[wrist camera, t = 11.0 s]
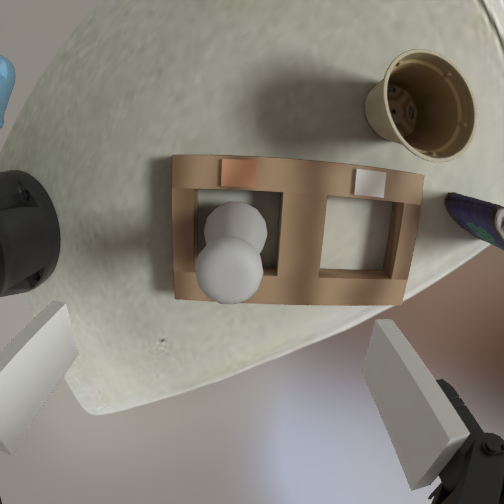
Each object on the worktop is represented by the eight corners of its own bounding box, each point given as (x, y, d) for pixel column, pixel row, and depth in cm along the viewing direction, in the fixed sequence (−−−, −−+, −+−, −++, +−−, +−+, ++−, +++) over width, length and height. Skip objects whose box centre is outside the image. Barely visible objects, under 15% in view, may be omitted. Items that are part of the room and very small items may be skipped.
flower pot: (441, 137, 28) (490, 138, 20) (375, 172, 29) (415, 181, 21) (404, 59, 25) (446, 38, 17) (332, 88, 27) (361, 68, 19)
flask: (492, 226, 31) (548, 252, 21) (482, 245, 32) (536, 277, 22) (450, 186, 30) (512, 205, 20) (439, 208, 31) (498, 233, 20)
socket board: (179, 288, 33) (174, 300, 31) (178, 154, 29) (171, 155, 26) (392, 295, 34) (402, 306, 31) (412, 173, 29) (425, 175, 27)
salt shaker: (206, 252, 32) (180, 316, 20) (207, 196, 30) (178, 229, 18) (264, 255, 32) (272, 321, 20) (268, 199, 30) (279, 234, 18)
